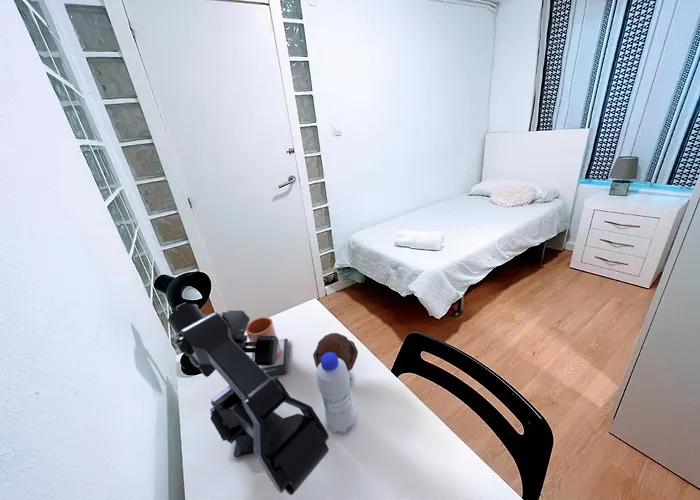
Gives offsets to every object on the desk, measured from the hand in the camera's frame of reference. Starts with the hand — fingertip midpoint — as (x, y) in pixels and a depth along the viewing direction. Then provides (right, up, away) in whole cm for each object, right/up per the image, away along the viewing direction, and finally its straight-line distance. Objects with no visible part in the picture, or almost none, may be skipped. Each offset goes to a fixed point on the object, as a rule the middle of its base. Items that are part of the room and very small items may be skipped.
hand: (254, 349), depth 71 cm
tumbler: (+1, -5, +9) cm, 10 cm away
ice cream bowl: (+22, -8, +1) cm, 24 cm away
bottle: (+23, -13, -9) cm, 28 cm away
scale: (+1, -7, +10) cm, 12 cm away
